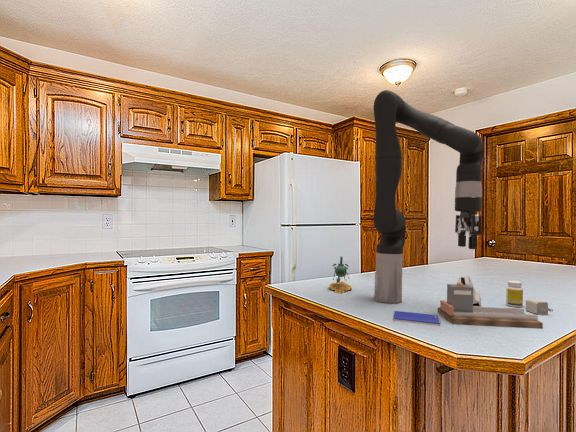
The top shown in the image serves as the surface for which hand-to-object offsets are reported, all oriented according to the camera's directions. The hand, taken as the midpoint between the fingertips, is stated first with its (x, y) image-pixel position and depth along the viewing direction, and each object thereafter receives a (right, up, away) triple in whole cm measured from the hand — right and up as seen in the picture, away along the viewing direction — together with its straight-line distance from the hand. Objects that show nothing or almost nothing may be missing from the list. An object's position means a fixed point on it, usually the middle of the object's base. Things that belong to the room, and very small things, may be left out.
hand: (467, 247), depth 106 cm
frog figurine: (-34, -21, +35) cm, 53 cm away
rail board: (+3, -21, -5) cm, 22 cm away
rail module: (-5, -19, -4) cm, 20 cm away
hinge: (+11, -22, +18) cm, 30 cm away
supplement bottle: (+23, -22, +12) cm, 33 cm away
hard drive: (-19, -21, -6) cm, 29 cm away
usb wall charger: (+25, -22, +2) cm, 33 cm away
